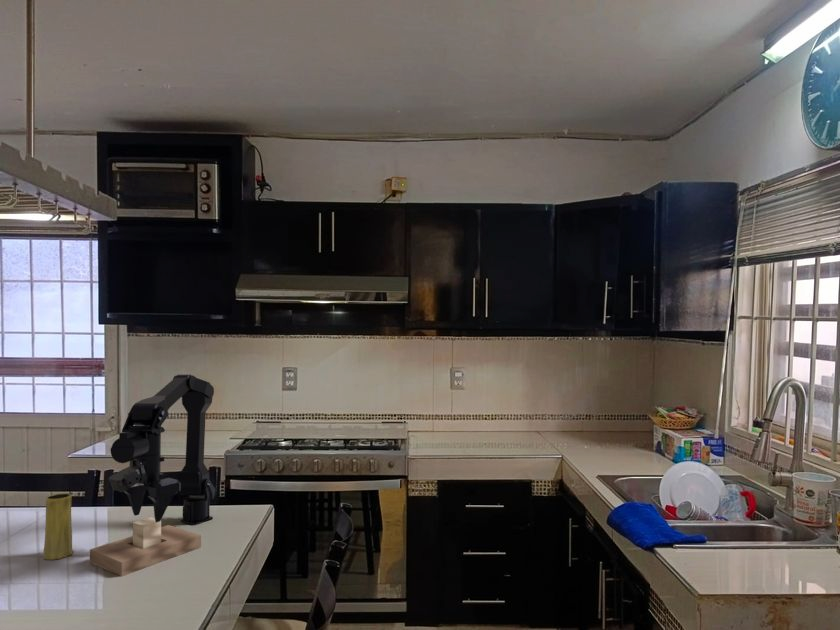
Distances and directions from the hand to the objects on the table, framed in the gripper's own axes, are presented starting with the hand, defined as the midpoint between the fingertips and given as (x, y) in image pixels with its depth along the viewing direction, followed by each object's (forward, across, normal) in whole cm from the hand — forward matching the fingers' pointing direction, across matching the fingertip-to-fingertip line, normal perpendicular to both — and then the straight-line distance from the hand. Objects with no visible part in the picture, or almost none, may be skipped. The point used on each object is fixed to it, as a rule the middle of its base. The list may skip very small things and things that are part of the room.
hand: (147, 518), depth 137 cm
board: (+9, 0, 0) cm, 9 cm away
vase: (+9, -18, -12) cm, 23 cm away
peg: (+9, 0, 0) cm, 9 cm away
